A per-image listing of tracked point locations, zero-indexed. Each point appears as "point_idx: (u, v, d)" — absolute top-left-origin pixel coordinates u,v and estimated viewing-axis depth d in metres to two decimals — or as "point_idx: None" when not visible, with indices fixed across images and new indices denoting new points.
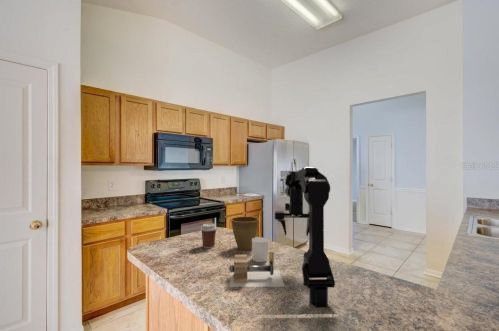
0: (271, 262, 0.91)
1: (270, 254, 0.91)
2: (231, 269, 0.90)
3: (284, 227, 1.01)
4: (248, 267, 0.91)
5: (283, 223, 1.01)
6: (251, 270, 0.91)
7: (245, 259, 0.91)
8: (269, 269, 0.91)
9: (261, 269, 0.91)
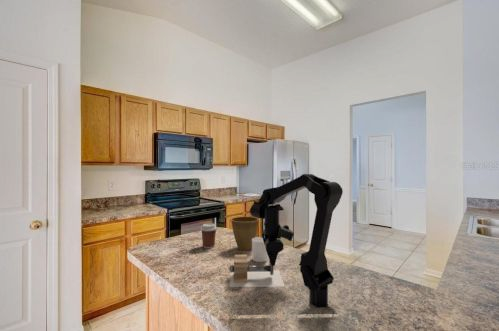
0: None
1: None
2: (231, 269, 0.90)
3: None
4: (248, 267, 0.91)
5: None
6: (251, 270, 0.91)
7: (245, 259, 0.91)
8: (269, 269, 0.91)
9: (261, 269, 0.91)
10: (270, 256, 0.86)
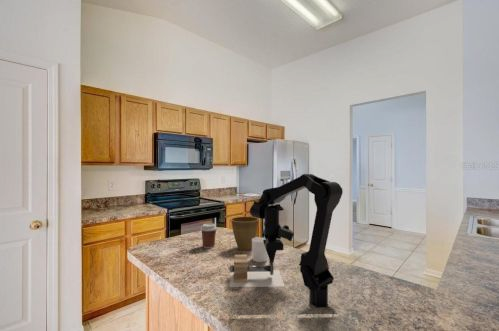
0: (271, 262, 0.91)
1: None
2: (231, 269, 0.90)
3: None
4: (248, 267, 0.91)
5: (264, 244, 0.94)
6: (251, 270, 0.91)
7: (245, 259, 0.91)
8: (269, 269, 0.91)
9: (261, 269, 0.91)
10: (269, 253, 0.90)
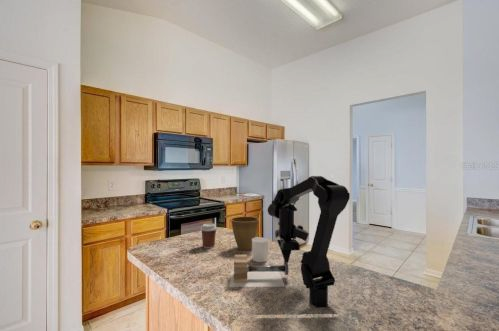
0: (286, 262, 0.91)
1: None
2: None
3: (280, 249, 0.94)
4: (263, 267, 0.91)
5: None
6: (266, 270, 0.91)
7: (245, 259, 0.91)
8: (284, 269, 0.91)
9: (275, 269, 0.91)
10: (284, 253, 0.90)
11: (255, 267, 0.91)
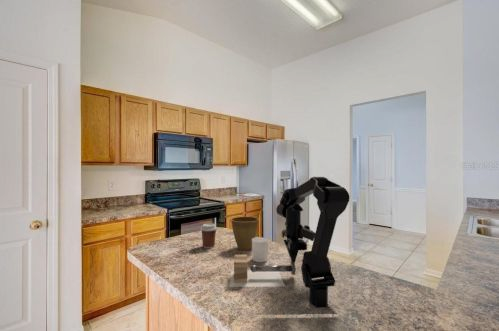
0: (293, 262, 0.91)
1: None
2: (253, 269, 0.91)
3: (287, 249, 0.94)
4: (270, 267, 0.91)
5: (285, 244, 0.95)
6: (273, 270, 0.91)
7: (245, 259, 0.91)
8: (291, 269, 0.91)
9: (282, 269, 0.91)
10: (291, 253, 0.90)
11: (262, 267, 0.91)
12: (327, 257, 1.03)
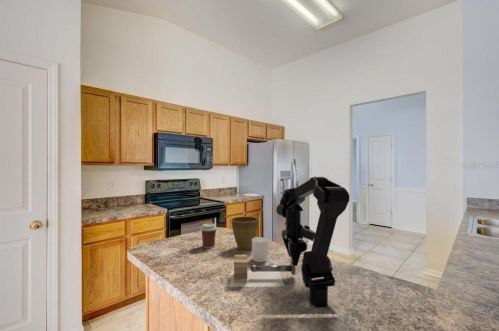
0: None
1: None
2: (253, 269, 0.91)
3: None
4: (270, 267, 0.91)
5: None
6: (273, 270, 0.91)
7: (245, 259, 0.91)
8: (291, 269, 0.91)
9: (282, 269, 0.91)
10: (293, 256, 0.86)
11: (262, 267, 0.91)
12: (328, 257, 1.02)
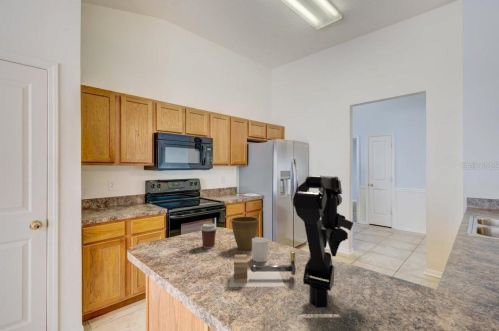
0: (293, 262, 0.91)
1: (292, 254, 0.92)
2: (253, 269, 0.91)
3: None
4: (270, 267, 0.91)
5: None
6: (273, 270, 0.91)
7: (245, 259, 0.91)
8: (291, 269, 0.91)
9: (282, 269, 0.91)
10: (332, 246, 0.82)
11: (262, 267, 0.91)
12: None
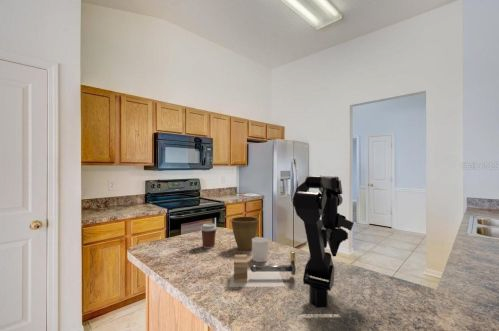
0: (293, 262, 0.91)
1: (292, 254, 0.92)
2: (253, 269, 0.91)
3: None
4: (270, 267, 0.91)
5: None
6: (273, 270, 0.91)
7: (245, 259, 0.91)
8: (291, 269, 0.91)
9: (282, 269, 0.91)
10: (332, 246, 0.82)
11: (262, 267, 0.91)
12: None
